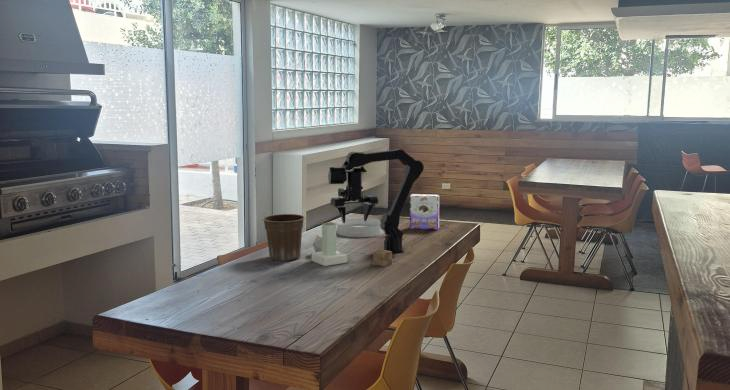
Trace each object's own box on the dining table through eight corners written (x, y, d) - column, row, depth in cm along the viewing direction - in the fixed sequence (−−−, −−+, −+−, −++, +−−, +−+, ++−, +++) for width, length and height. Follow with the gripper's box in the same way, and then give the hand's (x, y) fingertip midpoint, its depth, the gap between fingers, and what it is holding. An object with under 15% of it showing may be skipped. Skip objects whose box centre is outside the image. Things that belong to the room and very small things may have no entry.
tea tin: (331, 252, 253) (330, 221, 251) (336, 254, 250) (336, 223, 248) (322, 253, 251) (321, 222, 249) (327, 255, 247) (327, 224, 246)
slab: (333, 257, 257) (333, 249, 257) (347, 262, 249) (347, 254, 249) (311, 260, 252) (311, 253, 251) (324, 266, 244) (324, 258, 243)
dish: (355, 226, 321) (355, 216, 320) (393, 231, 308) (393, 221, 307) (327, 234, 303) (327, 223, 302) (365, 240, 290) (365, 229, 289)
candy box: (439, 227, 316) (440, 194, 313) (438, 230, 310) (438, 196, 308) (411, 226, 319) (411, 193, 316) (409, 228, 313) (409, 195, 311)
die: (325, 259, 256) (338, 238, 258) (307, 248, 257) (320, 227, 259) (326, 262, 264) (339, 241, 266) (308, 251, 265) (321, 231, 267)
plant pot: (264, 263, 247) (263, 222, 245) (262, 254, 263) (261, 214, 261) (307, 261, 251) (306, 220, 248) (302, 252, 266) (302, 213, 264)
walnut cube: (381, 262, 250) (381, 249, 249) (391, 264, 247) (391, 251, 246) (373, 264, 246) (373, 251, 246) (383, 266, 243) (383, 253, 242)
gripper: (367, 180, 270) (367, 217, 272) (325, 182, 263) (325, 220, 265) (379, 183, 260) (378, 221, 262) (335, 185, 253) (335, 225, 255)
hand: (354, 222), depth 261 cm, fingers open, 9 cm apart
